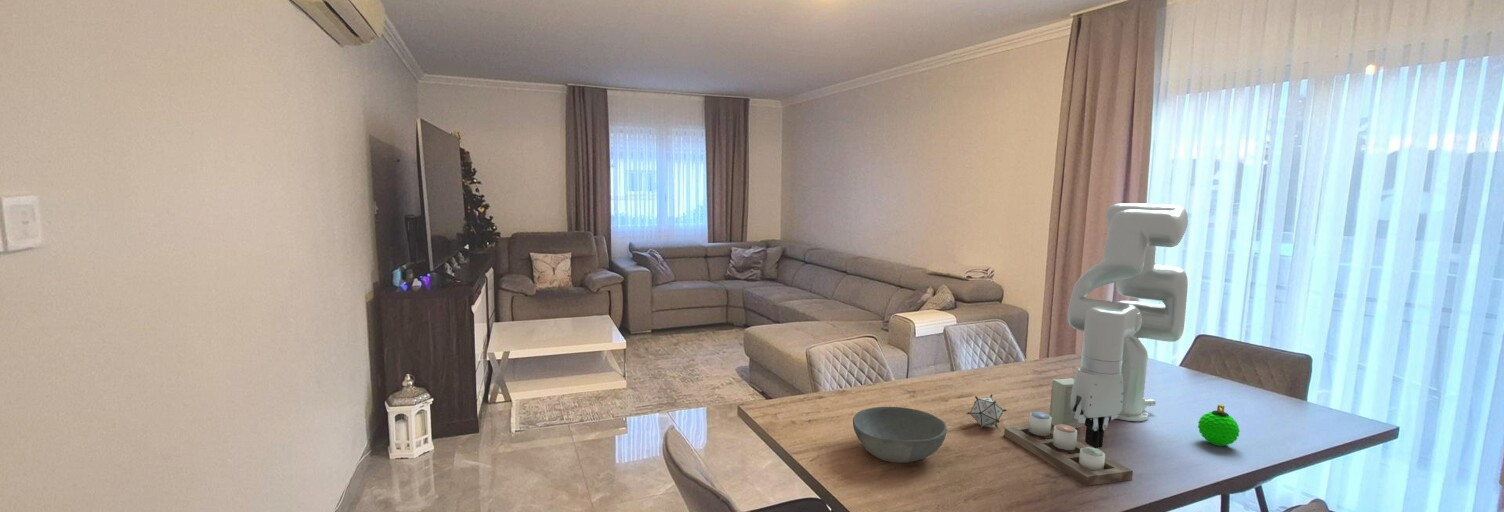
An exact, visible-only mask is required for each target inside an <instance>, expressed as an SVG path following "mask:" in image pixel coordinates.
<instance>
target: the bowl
mask: <svg viewBox="0 0 1504 512" xmlns="http://www.w3.org/2000/svg"><path fill="white" fill-rule="evenodd" d="M852 427H853V429H854V430H853V431H854V433H855V435H856V438H857V439H858V441H859V443H860V444H861V445H862V447H864V449H865V450H866V451H867V452H869V454H871V455H872V456H874V457H876V458H877V459H880V460H882V461H886V462H890V463H899V464H902V463H912V462H913V463H914V462H917V461H920V460H923V459H926V458H928V457H929V456H931V455H933V454H935V452H937V450H938V449H939V448H940V447H941V446H942V444H943V443H944V441H945V439H946V436H947V431H948V427H947V425H946V423H945V421H943V420H942V419H941V418H940V417H937V416H936V415H934V414H931V413H929V412H927V411H923V410H919V409H916V408H915V409H914V408H910V407H902V406H876V407H870V408H865V409H862V410H859V411H858V412H857V413H856V414H855V415H854V416H853V418H852Z"/></svg>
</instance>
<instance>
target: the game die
mask: <svg viewBox="0 0 1504 512" xmlns="http://www.w3.org/2000/svg"><path fill="white" fill-rule="evenodd" d="M974 397H975V398H974V399H976V400H975V401H974V402H973V403H974V404H973V406H972V407H971V410H970V412H966V415H971V417H973V419H974V420H975V421H976V422H977V423H978V425H979V426H980V430H981V431H982V430H983V429H984V428H985V427H990V426H991V427H992V426H995V428H999V425H998V423H1000V418H1001V416H1002V415H1003V412H1007V411H1008V410H1007V409H1005V408H1004V409H1003V408H1002V407H1001V406H1000V405H999V404H998V403H997V401H996V400H995V399H994V398H993V394H992V393H991V394H990V396H989V397H981V398H980V397H979V398H978V396H976V395H975V396H974ZM983 427H984V428H983Z"/></svg>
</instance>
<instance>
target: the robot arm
mask: <svg viewBox="0 0 1504 512" xmlns="http://www.w3.org/2000/svg"><path fill="white" fill-rule="evenodd" d="M1188 217H1189V216H1188V212H1187V210H1186V208H1185V207H1183V206H1181V205H1175V204H1153V203H1152V204H1151V203H1135V202H1133V203H1132V202H1130V203H1127V202H1125V203H1124V202H1122V203H1115V204H1112V205H1110V206H1109V207H1108V208H1107V210H1106V213H1105V221H1106V224H1107V226H1108V231H1107V236H1106V240H1105V243H1104V248H1103V253H1102V257H1101V261H1100V262H1098V263H1096V264H1094V265H1093V266H1091V267H1090V268H1088V269H1087V270H1086V271H1084V273H1083V274H1081V275H1080V277H1079V278H1078V279H1077V280H1076V282H1075V283H1074V286H1073V289H1072V292H1071V295H1070V300H1069V303H1068V307H1067V314H1066V315H1067V316H1066V317H1067V322H1068V325H1069V326H1070V327H1071V328H1073V329H1074V330H1077V331H1082V332H1083V339H1082V351H1081V361H1080V368H1077V371H1076V374H1075V376H1074V378H1073V379H1074V383H1073V388H1072V394H1071V401H1070V410H1071V411H1073V412H1076V413H1075V416H1074V420H1076V421H1078V422H1080V424H1083V425H1084V427H1086V428H1085V439H1084V442H1085V444H1087V445H1089V447H1092V448H1096V449H1101V448H1103V447H1104V436H1105V431H1106V430H1107V429H1108V426H1109V423H1110V422H1111V421H1113V420H1115V419H1117V420H1122V421H1127V422H1129V421H1130V422H1144V421H1146V420H1148V419H1149V412H1148V411H1147V410H1146V408H1147V407H1154V406H1156V404H1157V403H1156V400H1155V399H1153V398H1147V399H1146V398H1145V389H1146V378H1147V371H1148V369H1147V368H1148V361H1149V355H1148V351H1147V349H1146V347H1145V346H1144V343H1142V341H1141V340H1140V339H1148V340H1153V341H1154V340H1155V341H1160V342H1170V343H1173V342H1178V341H1179V340H1180V339H1181V338H1182V336H1183V333H1184V329H1185V321H1186V320H1185V319H1186V312H1187V311H1186V310H1187V299H1188V285H1189V283H1188V282H1189V281H1188V276H1187V272H1186V271H1185V270H1184V269H1182V268H1181V267H1178V266H1173V265H1164V264H1157V263H1156V250H1157V248H1156V247H1161V248H1162V247H1163V248H1175V247H1177V246H1178V245H1179V244H1180V242H1181V241H1182V239H1183V237H1184V235H1185V233H1186V231H1187V228H1188V222H1189V220H1188ZM1114 283H1115V288H1116V292H1117V293H1118V294H1119V295H1121V296H1123V297H1124V298H1125V297H1126V298H1131V299H1139V300H1145V301H1146V300H1147V301H1154V302H1155V301H1156V302H1161V303H1162V304H1159V303H1158V304H1157V303H1150V302H1149V303H1148V302H1144V301H1143V302H1142V301H1136V300H1117V301H1111V300H1105V299H1095V298H1087V296H1088V295H1089V294H1090V293H1091V292H1093V290H1095V289H1097V288H1100V287H1103V286H1105V285H1106V286H1107V285H1109V284H1114Z"/></svg>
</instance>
